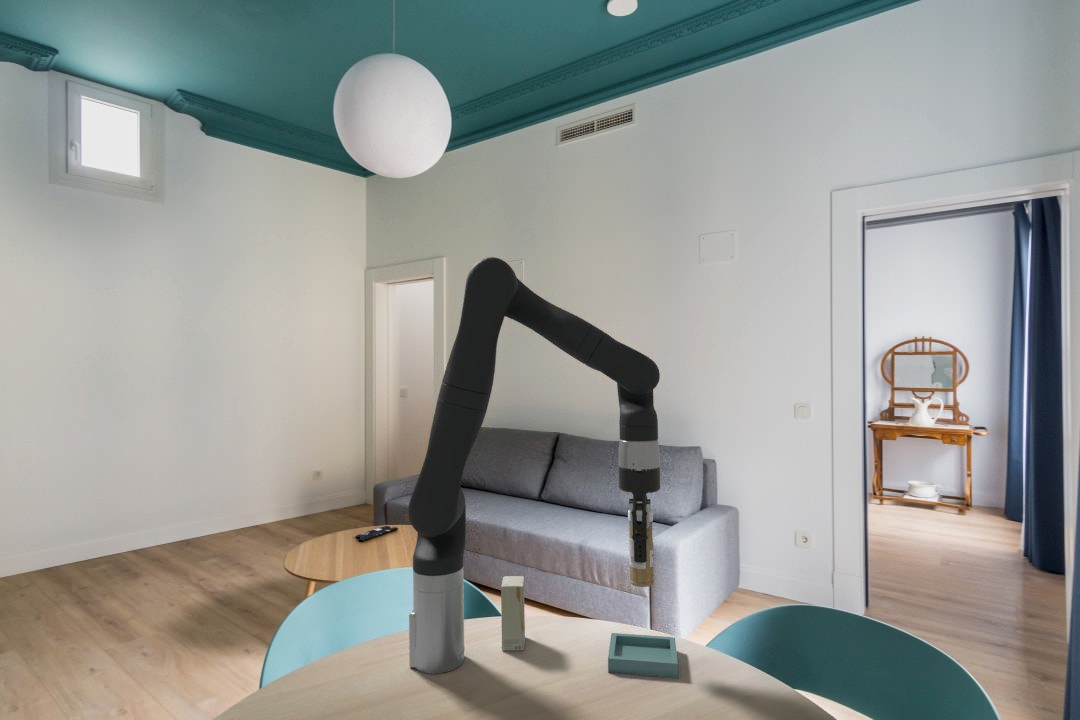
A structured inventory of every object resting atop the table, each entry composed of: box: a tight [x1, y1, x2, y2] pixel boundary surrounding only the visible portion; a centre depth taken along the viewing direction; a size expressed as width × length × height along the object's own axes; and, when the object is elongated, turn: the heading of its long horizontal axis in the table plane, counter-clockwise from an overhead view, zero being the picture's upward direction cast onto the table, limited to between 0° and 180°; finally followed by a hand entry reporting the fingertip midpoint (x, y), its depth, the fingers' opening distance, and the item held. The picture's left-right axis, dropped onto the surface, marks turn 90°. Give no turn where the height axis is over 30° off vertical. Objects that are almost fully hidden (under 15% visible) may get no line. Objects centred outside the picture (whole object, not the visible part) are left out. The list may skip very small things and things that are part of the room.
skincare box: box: [500, 575, 526, 651], centre depth 113 cm, size 6×4×12 cm
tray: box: [607, 632, 679, 679], centre depth 105 cm, size 12×10×2 cm
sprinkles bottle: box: [627, 509, 655, 588], centre depth 106 cm, size 5×5×13 cm
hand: (640, 556), depth 105 cm, fingers closed on sprinkles bottle, 4 cm apart
